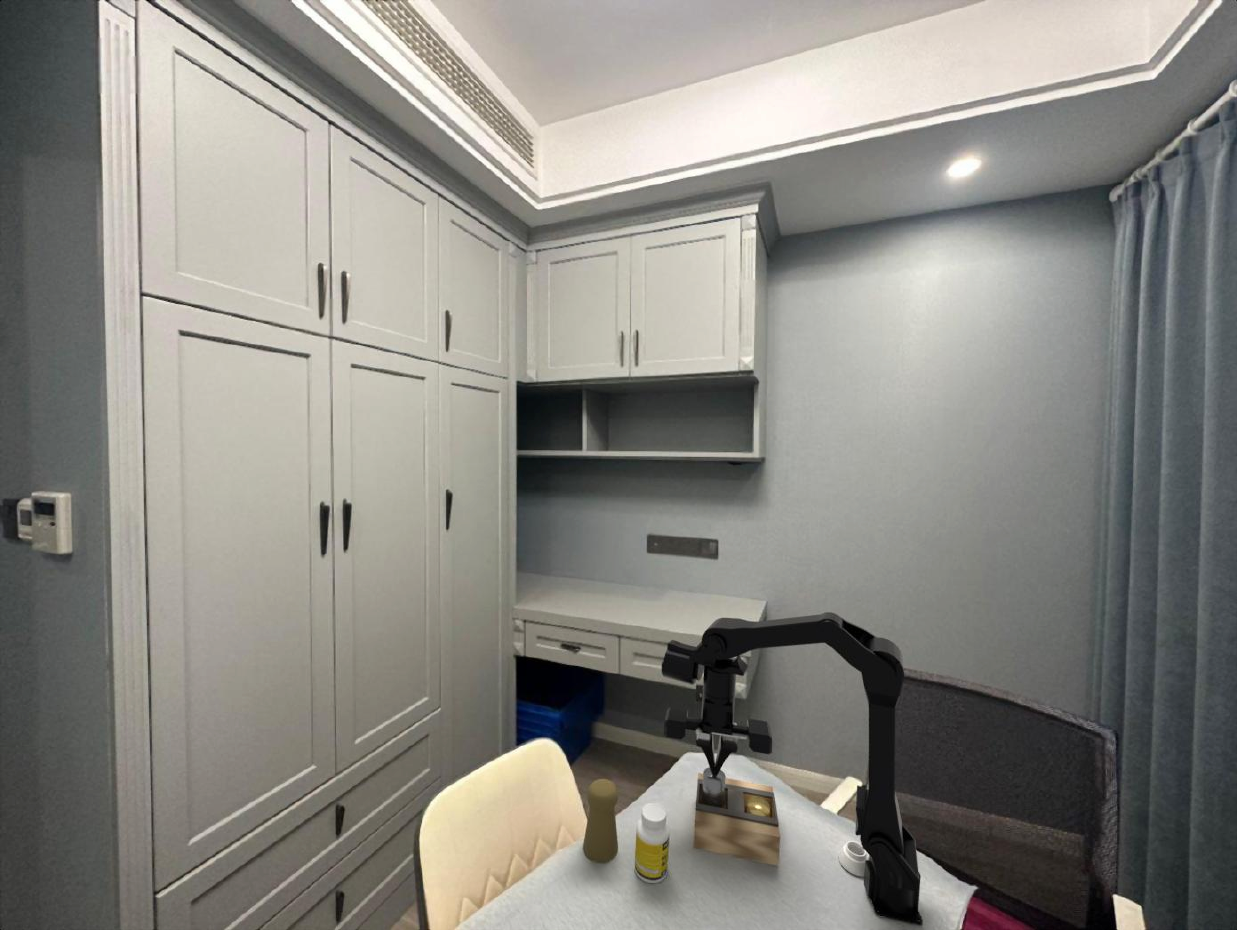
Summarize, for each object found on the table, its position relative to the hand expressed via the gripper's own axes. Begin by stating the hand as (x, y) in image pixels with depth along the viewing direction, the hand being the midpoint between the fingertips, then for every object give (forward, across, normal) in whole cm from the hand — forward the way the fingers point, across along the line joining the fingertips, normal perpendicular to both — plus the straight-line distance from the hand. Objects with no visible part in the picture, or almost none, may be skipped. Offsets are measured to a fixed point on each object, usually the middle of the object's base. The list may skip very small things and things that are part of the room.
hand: (714, 774), depth 87 cm
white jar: (+10, -24, +2) cm, 26 cm away
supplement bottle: (+10, +10, +12) cm, 18 cm away
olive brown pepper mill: (+10, +19, +10) cm, 23 cm away
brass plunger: (+10, -8, 0) cm, 12 cm away
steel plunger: (+6, 0, 0) cm, 6 cm away
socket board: (+10, -4, 0) cm, 10 cm away
